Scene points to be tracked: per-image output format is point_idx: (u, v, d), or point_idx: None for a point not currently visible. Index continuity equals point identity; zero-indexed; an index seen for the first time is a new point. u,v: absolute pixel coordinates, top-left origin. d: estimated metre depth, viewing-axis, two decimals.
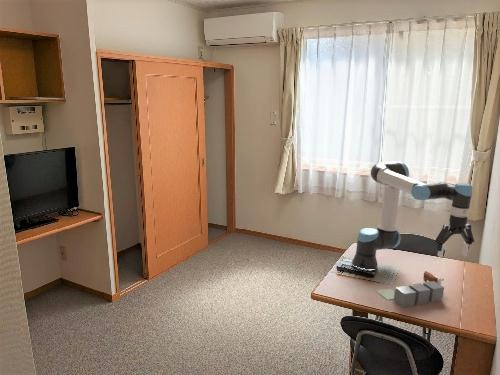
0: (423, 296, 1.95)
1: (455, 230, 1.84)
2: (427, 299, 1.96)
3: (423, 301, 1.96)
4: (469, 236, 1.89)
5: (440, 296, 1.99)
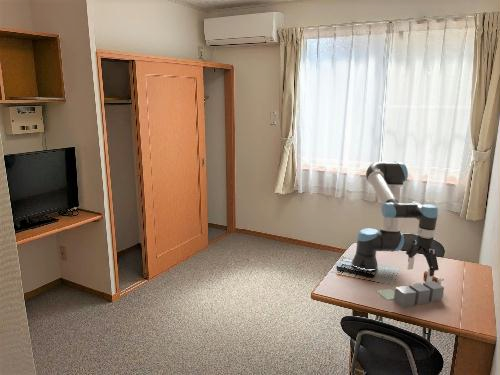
0: (423, 296, 1.95)
1: (417, 247, 1.93)
2: (427, 299, 1.96)
3: (423, 301, 1.96)
4: None
5: (440, 296, 1.99)
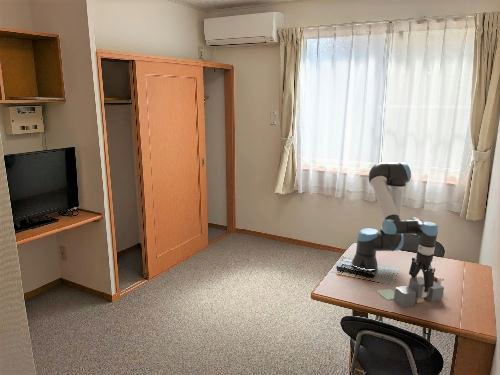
0: None
1: (417, 264, 1.96)
2: (427, 292, 1.96)
3: None
4: None
5: (440, 296, 1.99)
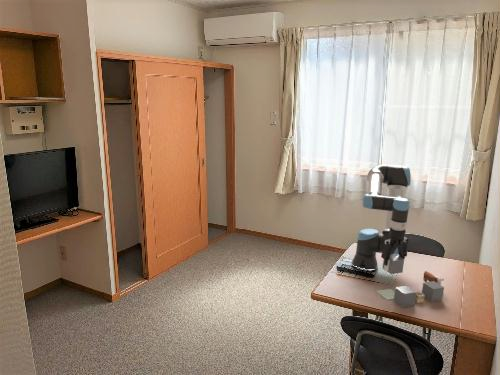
0: None
1: (395, 243, 1.94)
2: None
3: None
4: (404, 250, 1.99)
5: (440, 296, 1.99)
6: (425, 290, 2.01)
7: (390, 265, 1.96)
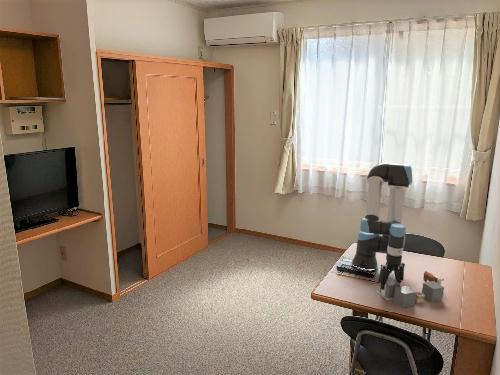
0: None
1: (392, 268, 1.97)
2: None
3: None
4: (400, 274, 2.03)
5: (440, 296, 1.99)
6: (425, 290, 2.01)
7: (387, 289, 2.00)
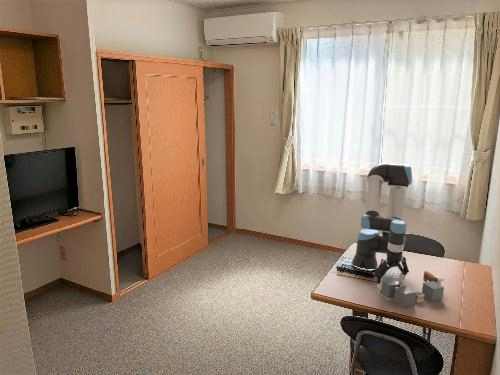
0: None
1: (392, 264, 1.97)
2: None
3: None
4: (404, 267, 2.03)
5: (440, 296, 1.99)
6: (425, 290, 2.01)
7: (387, 289, 2.00)
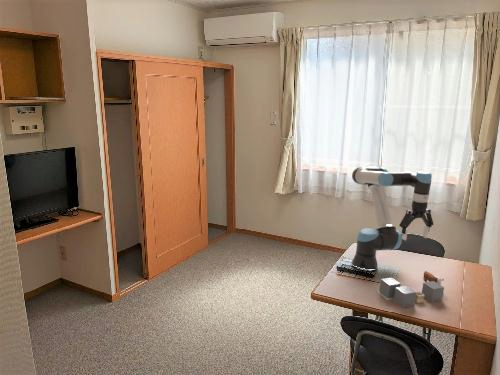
0: None
1: (417, 214, 2.03)
2: None
3: None
4: (429, 220, 2.08)
5: (440, 296, 1.99)
6: (425, 290, 2.01)
7: (387, 289, 2.00)
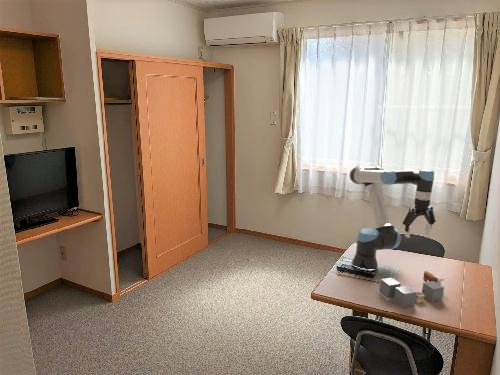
0: None
1: (420, 212, 2.04)
2: None
3: None
4: (431, 217, 2.09)
5: (440, 296, 1.99)
6: (425, 290, 2.01)
7: (387, 289, 2.00)
